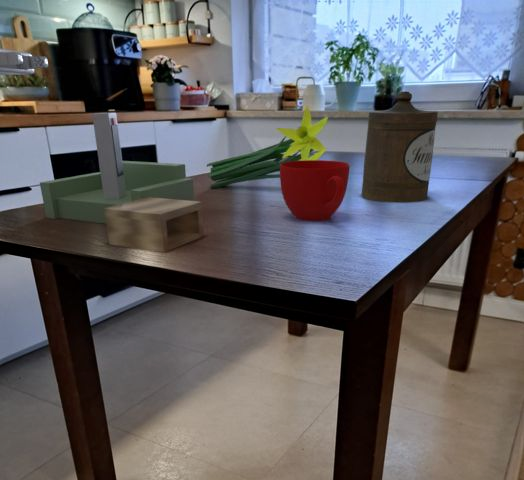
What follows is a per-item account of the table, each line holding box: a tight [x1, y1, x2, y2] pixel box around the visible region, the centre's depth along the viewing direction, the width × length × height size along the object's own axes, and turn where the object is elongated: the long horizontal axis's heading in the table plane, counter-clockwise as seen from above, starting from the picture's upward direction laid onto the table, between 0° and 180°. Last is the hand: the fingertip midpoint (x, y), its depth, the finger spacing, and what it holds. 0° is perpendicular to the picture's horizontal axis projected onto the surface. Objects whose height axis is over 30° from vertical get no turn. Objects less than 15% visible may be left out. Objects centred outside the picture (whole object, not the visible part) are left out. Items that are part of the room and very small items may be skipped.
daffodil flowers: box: [206, 105, 329, 190], centre depth 127 cm, size 17×15×35 cm
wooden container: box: [361, 91, 438, 203], centre depth 115 cm, size 15×15×22 cm
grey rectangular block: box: [91, 112, 126, 199], centre depth 98 cm, size 3×4×15 cm
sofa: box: [39, 160, 196, 224], centre depth 102 cm, size 25×17×10 cm
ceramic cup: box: [279, 159, 350, 222], centre depth 97 cm, size 13×17×10 cm
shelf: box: [104, 197, 204, 253], centre depth 84 cm, size 11×11×6 cm
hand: (33, 60), depth 89 cm, fingers open, 8 cm apart
